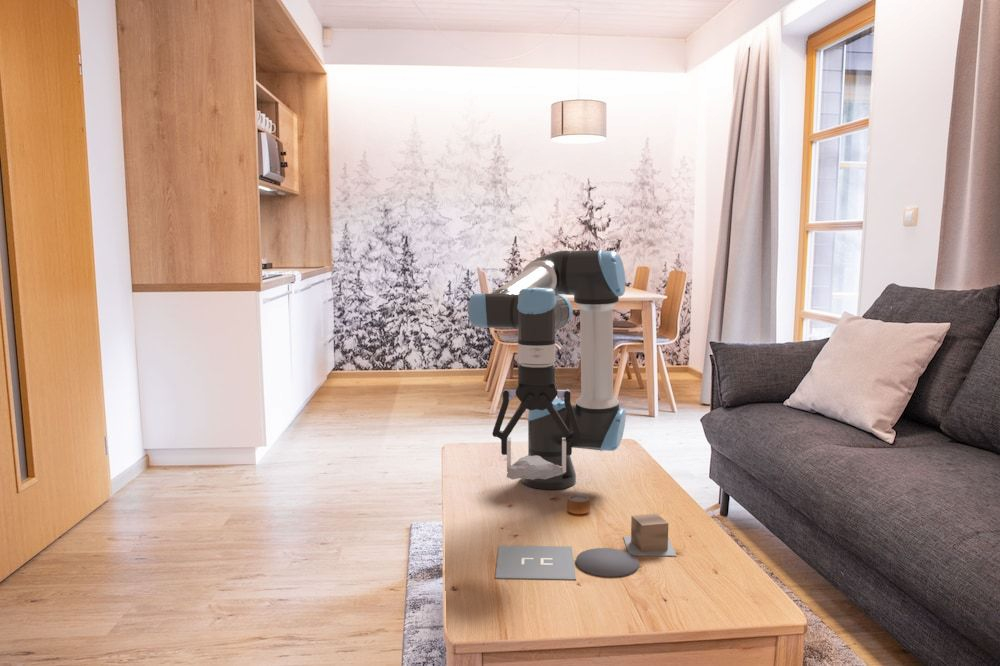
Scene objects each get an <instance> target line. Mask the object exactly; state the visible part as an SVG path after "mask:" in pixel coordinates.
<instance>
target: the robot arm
mask: <svg viewBox="0 0 1000 666" xmlns="http://www.w3.org/2000/svg"><path fill="white" fill-rule="evenodd" d="M625 273H626V272H625V268H624V264H623V260H622V258H621V256H620V254H619V253H618V252H617V251H614V250H613V251H612V250H602V249H599V250H597V249H595V250H558V251H553V252H549V253H548V254H544V255H542V256H540V257H538V258H536V259H533V260H532V261H530V262H529V263H527V264H526V265H525V266H524V268H523V270H522V271H521V273H519V274H518V275H516V276H515V277H513V278H512V279H511V280H509V281H508V282H506V283H505V284H503V285H502V286H500V287H499V288H497V289H496V290H494V291H493V292H491V293H486V292H482V293H474V294H473V295H472V296H471V297H470V299H469V301H468V305H467V306H468V307H467V314H468V315H467V316H468V319H469V323H470V324H471V325H472V326H473V327H476V328H485V329H516V330H517V332H518V333H517V334H518V335H517V337H518V338H517V341H518V342H517V360H518V361H517V362H518V363H519V365H518V367H517V387H516V389H509V388H504V389H503V392H502V403H501V406H500V409H499V412H498V415H497V418H496V421H495V424H494V427H493V430H492V436H493V437H494V438H499V439H500V440H501V441H500V442H501V444H500V445H501V446H500V447H501V451H500V453H501V454H502V455H503V456H506V472H507V473H508V469H509V467H510V466H512V437H511V436H510V435H511V433H512V431H513V430H514V428H515V426H516V425H517V424H518V422H519V420H520V419H521V417H522V416H523V414H524V413H525V412H526V410H528V418H527V426H528V428H527V429H528V430H527V431H528V434H527V437H528V440H527V443H528V448H527V449H528V451H527V452H528V455H527V456H535V455H538V456H540V457H542V458H543V459H544V460H546V461H548V462H551V463H553V464H555V465H559V466H562V471H563V472H565V473H564V474H562V475H558V476H554V477H551V478H548V479H540V478H538V479H533V480H532V479H523V478H521V481H522V483H523V484H524V485H526V486H528V487H531V488H533V489H538V490H539V489H541V490H561V489H566V488H570V487H573V486H574V485H576V483H577V482H576V481H577V474H576V470H575V467H574V463H573V460H572V457H571V456H572V452H573V451H572V450H573V449H574V448H575V449H583V450H584V449H585V450H593V451H599V452H603V451H605V452H609V451H610V452H613V451H615V450H617V449H618V448H619V447H620V444H621V442H622V439H623V435H624V431H625V426H626V418H627V416H626V415H627V414H626V410H625V408H623V407H620V400H619V399H618V398H617V397H616V396H615V395H614V316H613V315H614V313H613V312H614V310H613V309H614V308H615V306H616V305H617V304H618V303H619V302H620V300H619V297H621V296H624V294H625V292H626V274H625ZM564 295H566V296H564ZM568 295H569V296H573V302H574V304H575V305H576V306H577V308H579V318H580V319H579V323H580V328H579V329H580V330H579V331H580V386H581V387H580V388H581V389H580V394H581V395H580V396H579V397H578V398H576V400H575V404H574V405H572V402H571V390H570V389H568V388H565V389H557V388H556V367H555V365H554V364H555V362H556V330H559V329H562V328H564V327H565V326H566V325H567V324H568V323H569V322H570V321H571V319H572V317H573V312H574V311H573V306H572V302H571V301H570V299H569V298H567V296H568ZM515 396H516V397H517V398H518V400H519V401H520V404H519V405H518V407H517V409H516V411H515V412H514V413H513V415H512V417H511V418H510V419H509V422H508V423H507V424H506V426H505V428H504V429H503V430H501V428H502V424H503V421H504V419H505V416H506V413H507V410H508V406H509V403H510V401H512V400H513V399H514V397H515ZM557 396H558V397H557ZM572 448H573V449H572Z"/></svg>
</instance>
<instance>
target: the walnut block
mask: <svg viewBox="0 0 1000 666" xmlns="http://www.w3.org/2000/svg"><path fill="white" fill-rule="evenodd" d="M630 516H631V522H630V525H631V526H630V527H631V528H630V531H631V533H630V537H631V542H632V543H633V544H634V545H635V546H636V547H637V548H638V549H639V550H640V551H641V552H652V551H662V550H668V538H669V522H667V521H666V520H665V519H664V518H663V517H662V516H661V515H659V514H658V513H648V514H636V515H634V514H633V515H630Z"/></svg>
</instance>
